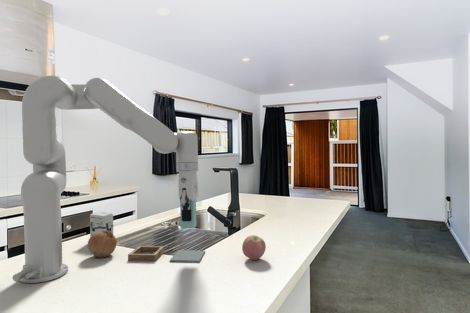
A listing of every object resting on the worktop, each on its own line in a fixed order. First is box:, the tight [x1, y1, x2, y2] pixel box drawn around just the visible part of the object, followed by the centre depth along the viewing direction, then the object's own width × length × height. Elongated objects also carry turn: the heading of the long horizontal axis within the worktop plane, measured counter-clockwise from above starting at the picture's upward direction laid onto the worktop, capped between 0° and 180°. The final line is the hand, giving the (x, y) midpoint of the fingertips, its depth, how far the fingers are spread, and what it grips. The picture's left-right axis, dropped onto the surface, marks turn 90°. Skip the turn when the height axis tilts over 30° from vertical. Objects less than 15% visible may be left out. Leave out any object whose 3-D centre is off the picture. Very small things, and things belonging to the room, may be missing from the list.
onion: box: [87, 230, 117, 259], centre depth 108 cm, size 10×9×10 cm
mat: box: [169, 249, 206, 263], centre depth 106 cm, size 10×10×1 cm
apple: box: [241, 234, 267, 261], centre depth 103 cm, size 8×8×8 cm
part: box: [179, 198, 198, 230], centre depth 106 cm, size 4×4×10 cm
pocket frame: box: [127, 245, 165, 262], centre depth 107 cm, size 10×10×2 cm
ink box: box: [89, 211, 114, 238], centre depth 124 cm, size 9×5×12 cm, turn 62°
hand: (188, 218), depth 106 cm, fingers closed on part, 4 cm apart
